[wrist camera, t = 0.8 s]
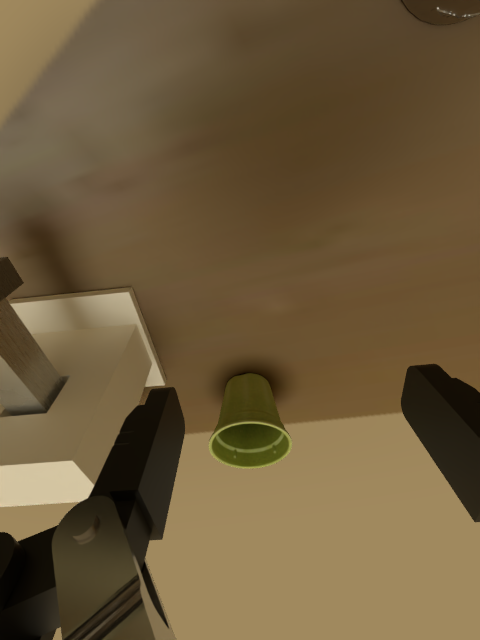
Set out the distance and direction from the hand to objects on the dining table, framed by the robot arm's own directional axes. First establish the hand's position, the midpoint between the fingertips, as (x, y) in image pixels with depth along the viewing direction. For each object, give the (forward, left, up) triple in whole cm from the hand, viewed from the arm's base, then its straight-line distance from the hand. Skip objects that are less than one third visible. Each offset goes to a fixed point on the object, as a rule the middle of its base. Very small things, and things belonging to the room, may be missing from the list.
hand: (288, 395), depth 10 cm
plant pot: (+22, -3, -20) cm, 30 cm away
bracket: (+12, -20, -19) cm, 30 cm away
